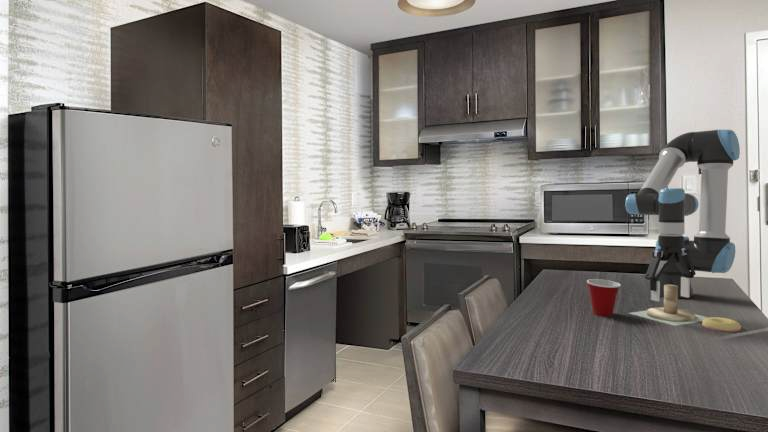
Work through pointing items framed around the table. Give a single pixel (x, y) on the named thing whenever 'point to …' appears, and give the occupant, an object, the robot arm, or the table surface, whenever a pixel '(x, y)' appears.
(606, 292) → the plastic cup
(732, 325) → the donut
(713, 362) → the table surface
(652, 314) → the lid
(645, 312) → the mat
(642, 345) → the table surface
